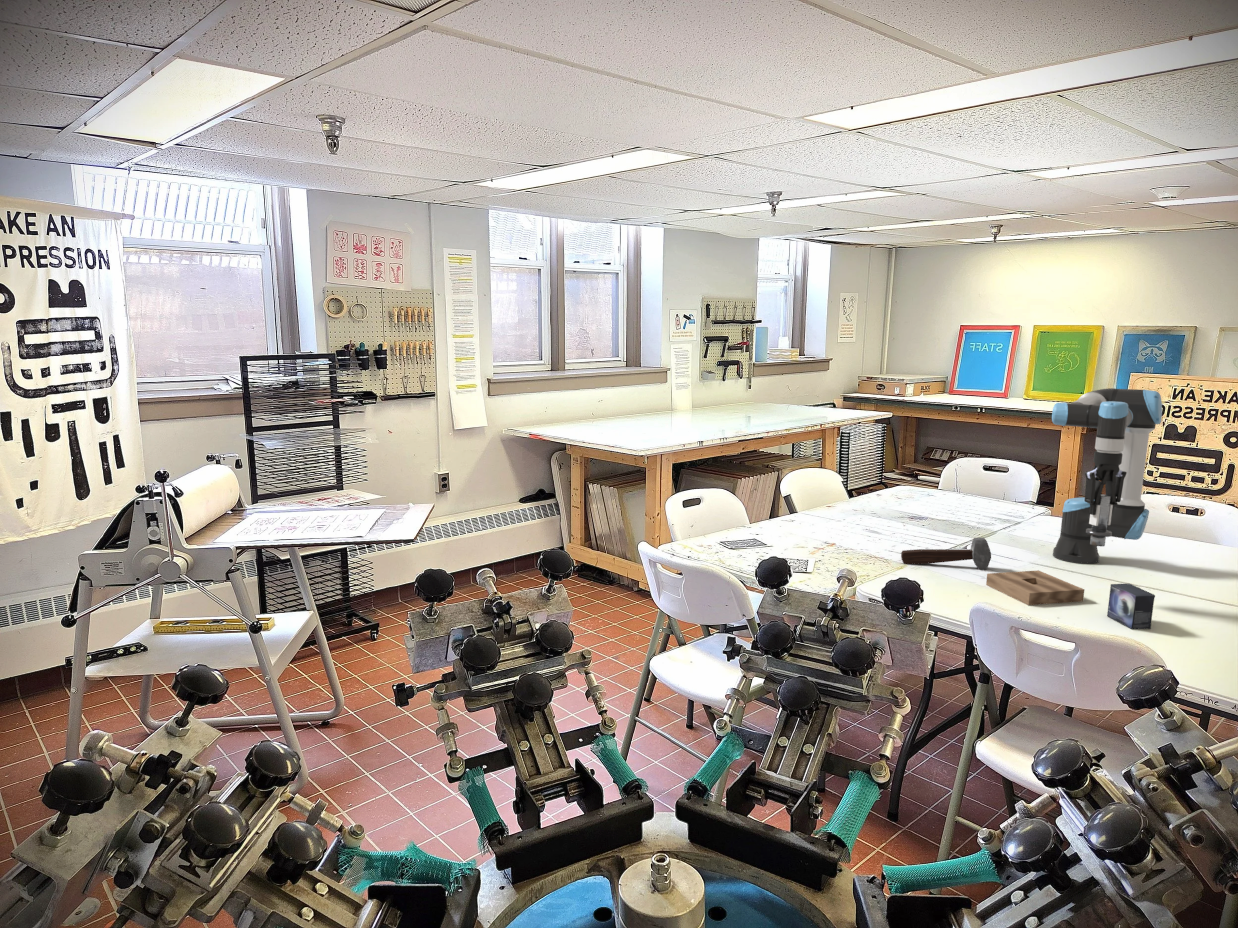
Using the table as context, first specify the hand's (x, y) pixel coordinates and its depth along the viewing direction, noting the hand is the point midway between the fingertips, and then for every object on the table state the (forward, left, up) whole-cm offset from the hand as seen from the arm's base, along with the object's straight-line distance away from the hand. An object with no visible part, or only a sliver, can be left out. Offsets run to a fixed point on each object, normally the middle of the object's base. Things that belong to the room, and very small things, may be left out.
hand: (1099, 524), depth 244 cm
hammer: (+25, -40, -25) cm, 54 cm away
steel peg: (0, 0, -7) cm, 7 cm away
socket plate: (+14, -8, -25) cm, 30 cm away
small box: (+5, +20, -25) cm, 32 cm away
